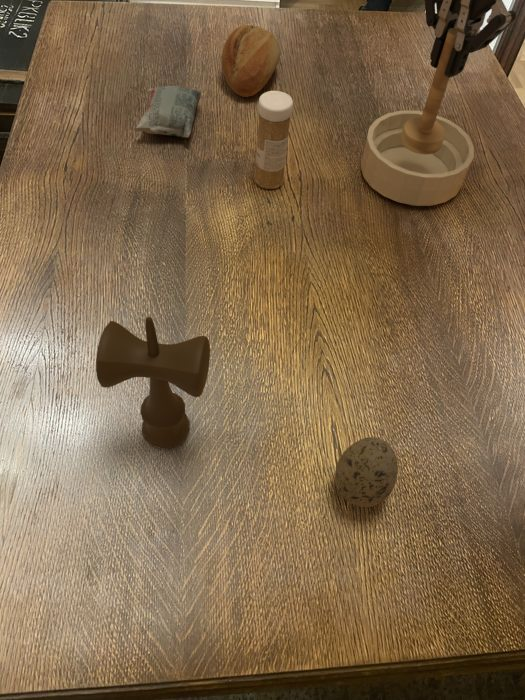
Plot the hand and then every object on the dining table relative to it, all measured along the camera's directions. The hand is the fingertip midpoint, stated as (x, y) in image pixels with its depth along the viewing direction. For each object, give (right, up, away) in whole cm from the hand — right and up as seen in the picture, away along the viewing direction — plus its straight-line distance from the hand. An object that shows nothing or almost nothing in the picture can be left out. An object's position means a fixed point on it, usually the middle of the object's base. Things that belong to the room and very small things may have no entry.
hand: (444, 69), depth 79 cm
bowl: (-1, -10, +14) cm, 17 cm away
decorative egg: (-14, -52, -16) cm, 56 cm away
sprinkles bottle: (-23, -12, +12) cm, 28 cm away
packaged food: (-39, -1, +18) cm, 43 cm away
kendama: (-34, -46, -13) cm, 59 cm away
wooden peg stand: (-1, -6, +9) cm, 11 cm away
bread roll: (-26, +11, +27) cm, 39 cm away
